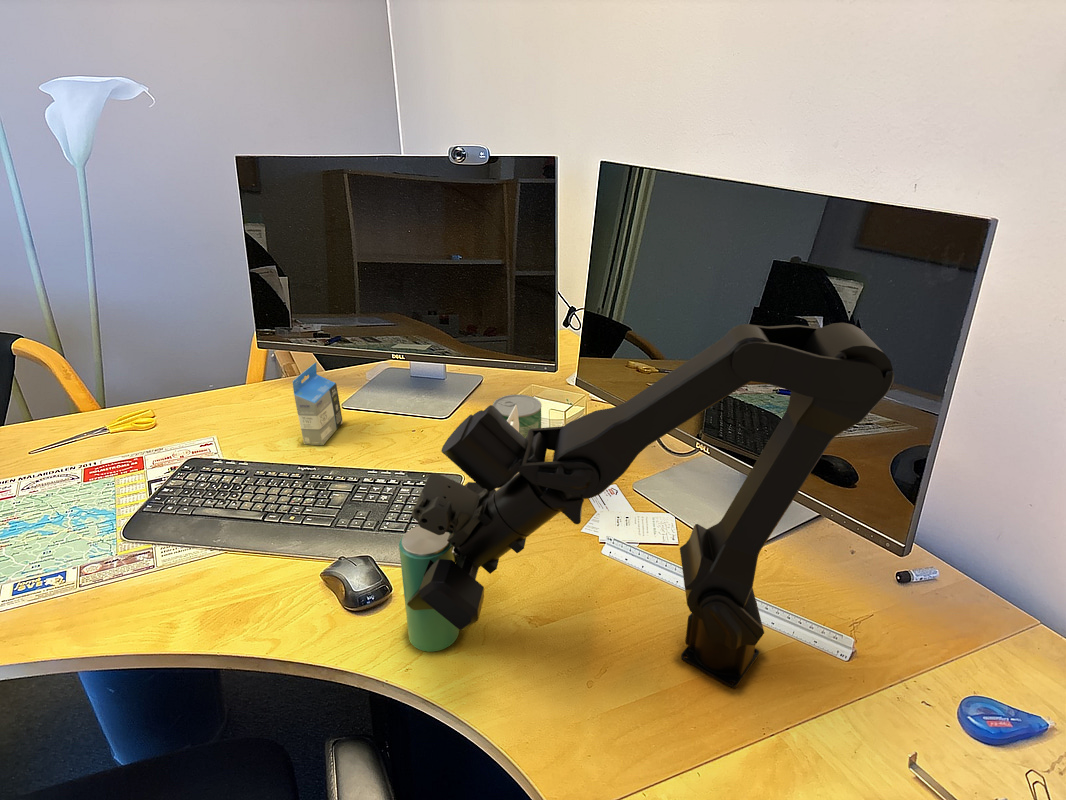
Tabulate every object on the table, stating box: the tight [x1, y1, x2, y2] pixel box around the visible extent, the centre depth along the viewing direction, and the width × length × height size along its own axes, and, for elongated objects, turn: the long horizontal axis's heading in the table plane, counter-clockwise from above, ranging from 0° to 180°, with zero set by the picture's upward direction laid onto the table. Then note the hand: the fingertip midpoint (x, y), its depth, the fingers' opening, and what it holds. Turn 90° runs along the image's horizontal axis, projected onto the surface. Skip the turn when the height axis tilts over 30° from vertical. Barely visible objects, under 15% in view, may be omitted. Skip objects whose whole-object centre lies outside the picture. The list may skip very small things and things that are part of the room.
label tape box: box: [291, 361, 344, 446], centre depth 120 cm, size 9×4×12 cm, turn 171°
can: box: [398, 525, 460, 653], centre depth 75 cm, size 6×6×13 cm
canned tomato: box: [492, 394, 543, 438], centre depth 110 cm, size 8×8×11 cm
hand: (418, 587), depth 75 cm, fingers closed on can, 6 cm apart
